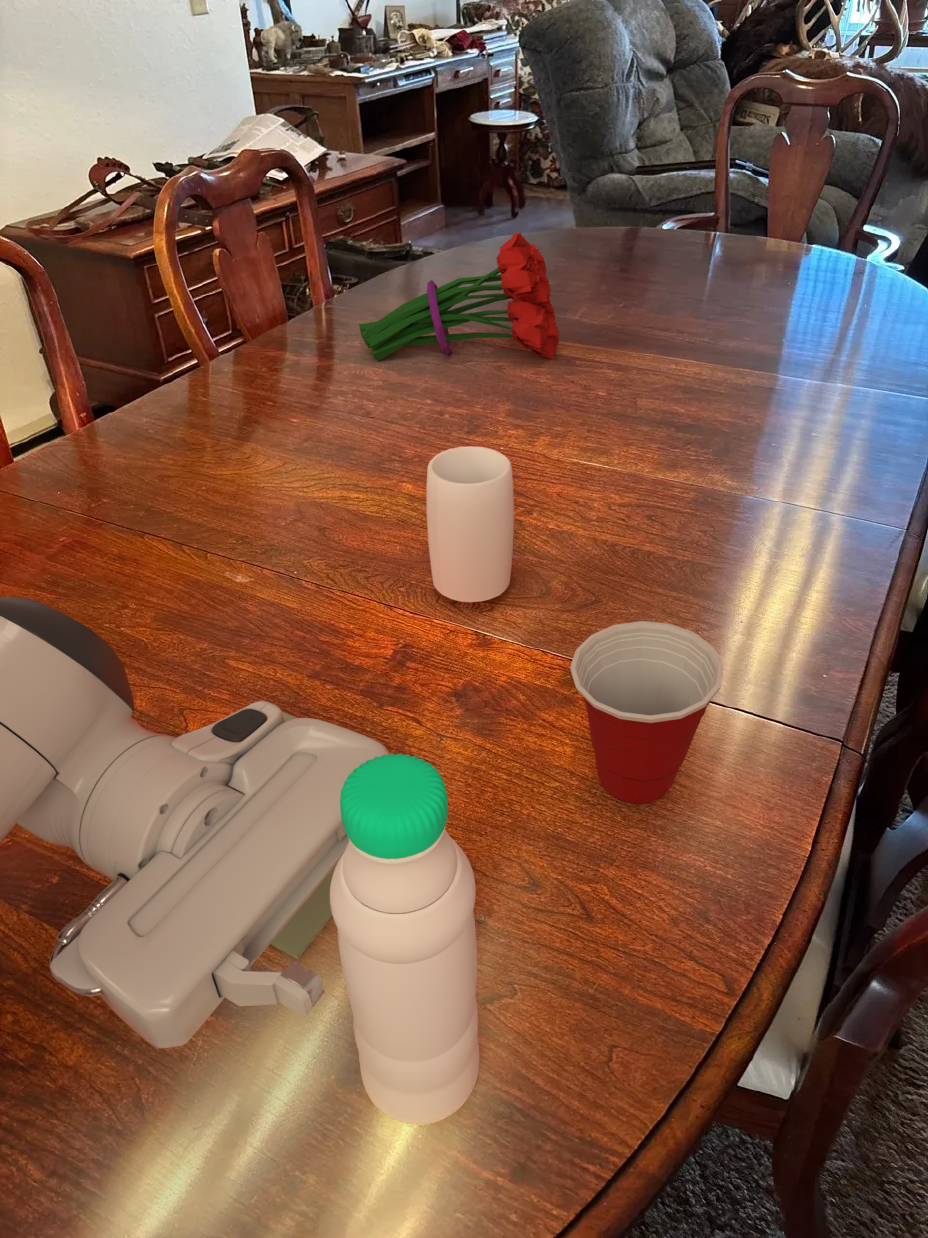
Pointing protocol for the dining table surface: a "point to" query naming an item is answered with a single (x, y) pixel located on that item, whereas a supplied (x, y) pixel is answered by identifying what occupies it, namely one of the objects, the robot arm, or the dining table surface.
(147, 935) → the robot arm
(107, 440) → the dining table surface
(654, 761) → the plastic cup
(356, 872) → the water bottle
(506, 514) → the cup
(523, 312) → the bouquet
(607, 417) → the dining table surface
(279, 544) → the dining table surface
